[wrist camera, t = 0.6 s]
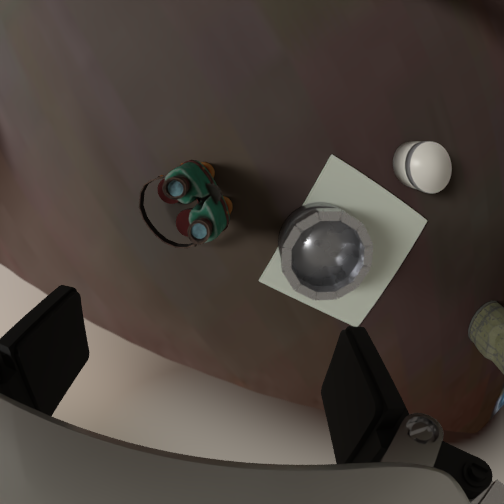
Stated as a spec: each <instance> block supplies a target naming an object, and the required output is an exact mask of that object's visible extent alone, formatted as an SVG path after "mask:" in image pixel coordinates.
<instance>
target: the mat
mask: <svg viewBox="0 0 504 504" xmlns="http://www.w3.org/2000/svg"><path fill="white" fill-rule="evenodd" d="M313 202H326V203H331V204H334V205H336V206H338V207H340V208H341V209H343V210H344V211H345V212H347V213H348V214H349V215H351V216H353V217H354V218H356V219H357V220H359V221H360V222H362V223H363V224H364V226H365V228H366V230H367V232H368V234H369V236H370V239H371V241H372V243H373V244H372V245H373V254H372V264H371V267H370V268H371V269H370V270H369V272H368V273H367V275H366V276H365V278H364V279H363V281H362V282H361V284H360V285H359V287H358V286H357V288H356V289H355V290H353V291H351V292H349V293H348V294H346V295H344V296H342V297H341V298H339V299H338V297H337V299H334V300H316V301H315V299H314V300H312V299H310V298H308V297H306V296H304V295H302V294H300V293H298V292H296V291H295V290H293V288H292V286H291V285H290V283H289V282H288V280H287V279H286V277H285V275H284V274H283V272H282V268H281V257H280V253H279V247H278V248H277V250H276V252H275V254H274V255H273V257H272V259H271V260H270V262H269V264H268V266H267V267H266V269H265V271H264V272H263V274H262V276H261V277H260V279H259V282H262V283H264V284H266V285H268V286H270V287H272V288H274V289H276V290H278V291H280V292H282V293H284V294H286V295H288V296H291V297H293V298H295V299H297V300H299V301H301V302H303V303H305V304H307V305H309V306H312V307H314V308H316V309H318V310H320V311H322V312H324V313H326V314H329V315H331V316H333V317H335V318H337V319H339V320H341V321H344V322H346V323H348V324H350V325H352V326H354V327H358V326H359V325H360V323H361V322H362V321H363V319H364V318H365V317H366V315H367V314H368V312H369V311H370V310H371V308H372V307H373V305H374V304H375V303H376V301H377V300H378V298H379V297H380V296H381V294H382V293H383V291H384V290H385V288H386V287H387V285H388V284H389V282H390V281H391V279H392V278H393V276H394V275H395V273H396V272H397V270H398V269H399V267H400V266H401V264H402V262H403V261H404V259H405V258H406V256H407V254H408V253H409V251H410V250H411V248H412V246H413V245H414V243H415V241H416V240H417V238H418V236H419V235H420V233H421V231H422V230H423V228H424V226H425V224H426V223H427V220H426V219H425V218H424V217H422V216H421V215H420V214H418V213H417V212H416V211H414V210H413V209H412V208H410V207H409V206H408V205H406V204H405V203H404V202H402V201H401V200H399V199H398V198H397V197H395V196H394V195H393V194H391V193H390V192H388V191H387V190H385V189H384V188H383V187H381V186H380V185H378V184H377V183H375V182H374V181H372V180H371V179H369V178H368V177H366V176H365V175H363V174H362V173H360V172H359V171H357V170H356V169H354V168H353V167H351V166H350V165H348V164H346V163H345V162H343V161H342V160H340V159H338V158H337V157H335V156H334V155H331V156H330V158H329V160H328V161H327V163H326V165H325V167H324V168H323V170H322V172H321V174H320V175H319V177H318V179H317V181H316V183H315V184H314V186H313V188H312V190H311V191H310V193H309V195H308V197H307V198H306V200H305V202H304V204H303V205H306V204H309V203H313ZM303 205H302V206H303Z"/></svg>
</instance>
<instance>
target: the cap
mask: <svg viewBox="0 0 504 504" xmlns="http://www.w3.org/2000/svg"><path fill="white" fill-rule="evenodd" d="M393 170H394V173H395V175H396V177H397V179H398V180H399V181H400V182H401V183H402V184H404V185H405V186H408V187H411V188H414V189H417V190H420V191H422V192H426V193H437V192H440V191H441V190H443V189H444V188H445V187H446V185H447V184H448V182H449V180H450V177H451V172H452V165H451V160H450V157H449V155H448V153H447V151H446V150H445V149H444V148H443V147H442V146H441V145H440V144H438V143H436V142H432V141H409V142H405V143H403V144H401V145H400V146H399V147H398V148H397V150H396V152H395V154H394V157H393Z"/></svg>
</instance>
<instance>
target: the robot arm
mask: <svg viewBox="0 0 504 504" xmlns="http://www.w3.org/2000/svg"><path fill="white" fill-rule="evenodd" d="M88 358H89V348H88V342H87V337H86V331H85V325H84V319H83V312H82V305H81V297H80V294H79V293H78V292H77V290H76V289H75V288H73V287H69V286H64V285H61V286H59V287H58V288H57V289H55V290H54V291H53V292H52V293H51V294H49V295H48V296H47V297H46V298H45V299H44V300H42V301H41V302H40V303H39V304H38V305H37V306H36V307H35V308H33V309H32V310H31V311H30V312H29V313H28V314H26V315H25V316H24V317H23V318H22V319H21V320H20V321H19V322H18V323H17V324H15V325H14V327H12V328H11V329H10V330H9V331H8V332H7V333H6V334H5V335H4V336H3V337H2V338H1V339H0V504H504V485H503V484H502V483H501V482H499V481H498V480H496V481H495V482H493V481H492V471H491V469H490V467H489V465H488V464H487V463H486V462H485V461H483V460H482V459H480V458H478V457H476V456H473V455H471V454H469V453H467V452H465V451H463V450H460V449H458V448H456V447H454V446H452V445H450V444H448V443H445V442H444V441H442V440H443V430H442V427H441V425H440V424H439V422H437V421H436V420H435V419H434V418H432V417H431V416H429V415H426V414H423V413H414V414H410V415H409V413H408V411H407V409H406V406H405V404H404V402H403V400H402V398H401V396H400V394H399V392H398V390H397V388H396V386H395V384H394V382H393V380H392V378H391V376H390V374H389V372H388V371H387V369H386V367H385V365H384V363H383V361H382V359H381V357H380V355H379V353H378V351H377V350H376V348H375V346H374V344H373V342H372V340H371V338H370V337H369V335H368V333H367V331H366V329H365V328H364V327H354V326H348V327H347V328H346V330H342V331H341V333H340V336H339V339H338V342H337V345H336V348H335V351H334V354H333V357H332V360H331V363H330V366H329V368H328V371H327V374H326V377H325V379H324V382H323V385H322V389H321V395H322V400H323V404H324V408H325V413H326V417H327V421H328V426H329V431H330V435H331V440H332V444H333V449H334V454H335V458H336V463H337V464H331V465H277V464H257V463H244V462H234V461H224V460H216V459H208V458H201V457H195V456H189V455H183V454H177V453H172V452H167V451H163V450H158V449H153V448H149V447H144V446H141V445H136V444H133V443H128V442H125V441H122V440H118V439H114V438H111V437H108V436H104V435H101V434H98V433H95V432H92V431H89V430H86V429H83V428H80V427H77V426H75V425H72V424H69V423H66V422H64V421H61V420H59V419H56V418H54V417H51V416H52V414H53V413H54V411H55V409H56V408H57V406H58V405H59V403H60V401H61V400H62V398H63V396H64V395H65V394H66V392H67V390H68V389H69V387H70V386H71V384H72V383H73V381H74V380H75V378H76V377H77V375H78V374H79V372H80V371H81V369H82V368H83V366H84V365H85V363H86V362H87V360H88Z"/></svg>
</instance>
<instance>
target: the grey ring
mask: <svg viewBox="0 0 504 504" xmlns="http://www.w3.org/2000/svg"><path fill="white" fill-rule="evenodd" d="M372 244H373V243H372V241H371V239H370V236H369V234H368V232H367V230H366V228H365V226H364V224H363V223H362V222H360V221H359V220H357V219H356V218H354V217H353V216H351V215H349V214H348V213H347V212H345V211H344V210H343V209H341V208H340V207H338V206H336V205H334V204H331V203H326V202H313V203H309V204H306V205H303V206H301V207H299V208H298V209H296V210H295V211H294V212H292V213H291V214H290V215H289V216H288V218H287V219H286V220H285V222H284V223H283V225H282V227H281V230H280V233H279V238H278V247H279V253H280V257H281V268H282V272H283V274H284V275H285V277H286V279H287V280H288V282H289V283H290V285H291V286H292V288H293V290H295V291H296V292H298V293H300V294H302V295H304V296H306V297H308V298H310V299H312V300H314V299H315V301H316V300H334V299H337V297H338V299H339V298H341V297H342V296H344V295H346V294H348V293H349V292H351V291H353V290H355V289H356V288H357V286H358V287H359V285H360V284H361V282H362V281H363V279H364V278H365V276H366V275H367V273H368V272H369V270H370V269H371V268H370V267H371V264H372V254H373V245H372Z"/></svg>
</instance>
